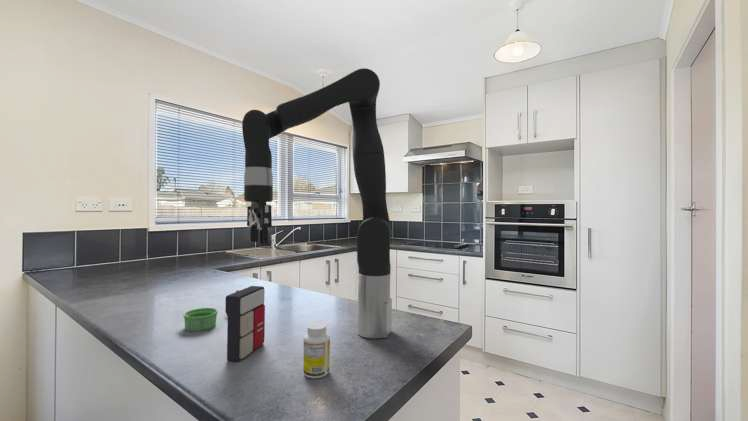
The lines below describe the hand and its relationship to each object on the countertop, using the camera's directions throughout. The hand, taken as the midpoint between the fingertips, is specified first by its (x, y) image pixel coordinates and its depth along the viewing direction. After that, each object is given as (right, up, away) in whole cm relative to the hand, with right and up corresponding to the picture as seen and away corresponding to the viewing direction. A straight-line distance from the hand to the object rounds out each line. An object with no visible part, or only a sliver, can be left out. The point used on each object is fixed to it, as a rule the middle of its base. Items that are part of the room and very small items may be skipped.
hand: (258, 242), depth 90 cm
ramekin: (-19, -26, +6) cm, 33 cm away
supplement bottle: (+20, -26, -20) cm, 39 cm away
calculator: (+1, -26, -10) cm, 28 cm away
